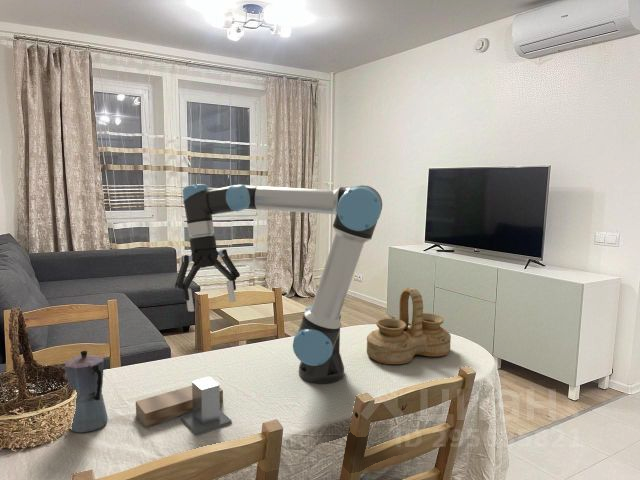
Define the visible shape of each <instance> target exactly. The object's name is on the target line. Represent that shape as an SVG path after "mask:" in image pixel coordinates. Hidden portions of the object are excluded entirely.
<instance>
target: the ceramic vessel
mask: <svg viewBox="0 0 640 480" xmlns="http://www.w3.org/2000/svg"><path fill="white" fill-rule="evenodd" d="M410 298H411V303H412V318H411V325H409V319H410V318H409V301H410V300H409V299H410ZM398 309H399V316H398V317H399V319H398V318H393V317H392V318H391V317H390V318H389V317H388V318H387V317H386V318H385V317H384V318H381V319H379V320H377V321H376V323H375V325H376V326H377V328H378V329H375V330H372V331H371V332H370V333H368V334H367V336H366V354H367V356H368V357H369V358H371V359H372V360H374V361H376V362H377V363H380V364H386V365H403V364H407V363H409V362H412V360H413V358H414V356H416V355H417V356H423V357H424V356H425V357H441V356H442V357H443V356H446V355H448V354H449V353H450V352H451V340H452V339H451V338H452V336H451V333H450V332H449V331H448V330H447V329H445V328H444V327H442V326H441V325H442V324H443V323H444V318H443V317H442V316H440V315H437V314H434V313H428V312H424V301H423V297H422V295H421V293H420V292H419V290H418V289H417V288H414V287H406V288H404V289H403V290H402V291H401V293H400V296H399V308H398Z"/></svg>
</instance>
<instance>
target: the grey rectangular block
mask: <svg viewBox="0 0 640 480" xmlns="http://www.w3.org/2000/svg"><path fill="white" fill-rule="evenodd" d="M191 386H192V403H193V417H194V418H195V419H196V420H197V421H198V422H199V423H200V424H201V425H202V426H204V425H207V424H210V423H212V422H215V421H218V420H220V410H221V409H220V408H221V407H220V405H221V404H220V397H219V387H220V384H219V383H218V381H215V380H214V379H213V378H212V377H211V376H206V377H203V378H199V379H195V380H192V381H191Z"/></svg>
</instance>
